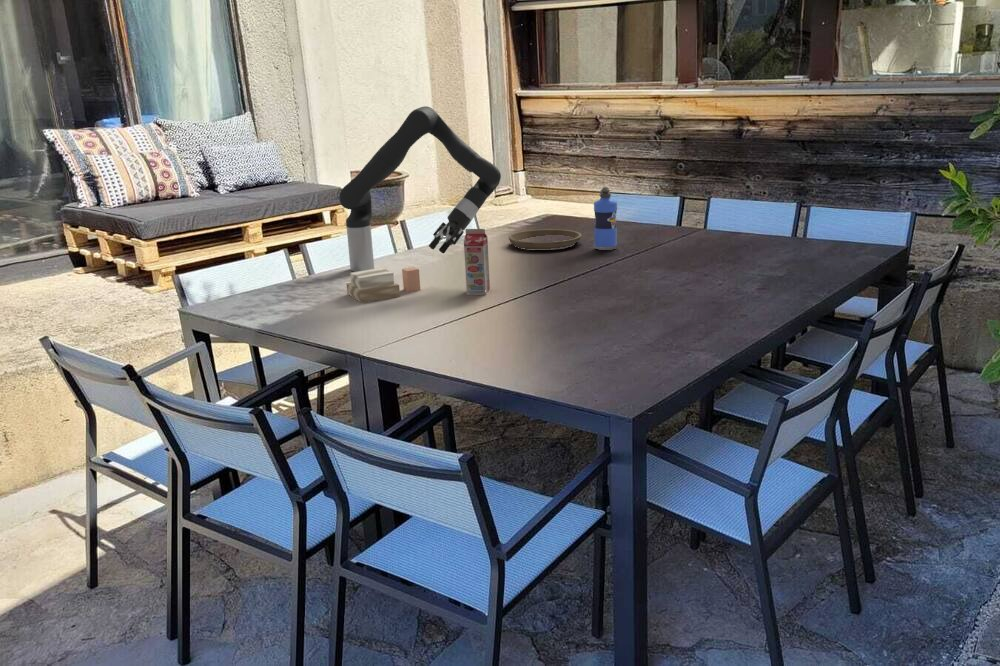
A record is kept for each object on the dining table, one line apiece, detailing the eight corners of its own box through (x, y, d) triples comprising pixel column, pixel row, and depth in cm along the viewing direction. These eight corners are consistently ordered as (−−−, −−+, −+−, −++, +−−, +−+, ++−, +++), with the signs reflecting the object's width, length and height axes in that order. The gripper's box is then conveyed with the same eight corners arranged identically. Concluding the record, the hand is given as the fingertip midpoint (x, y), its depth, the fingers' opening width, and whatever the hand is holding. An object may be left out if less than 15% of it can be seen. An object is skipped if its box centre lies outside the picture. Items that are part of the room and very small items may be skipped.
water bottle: (590, 249, 359) (589, 188, 352) (601, 245, 366) (600, 185, 359) (610, 251, 354) (610, 189, 346) (621, 247, 361) (621, 186, 354)
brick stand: (347, 294, 305) (345, 272, 303) (384, 288, 311) (383, 266, 309) (361, 302, 293) (359, 279, 291) (400, 296, 300) (398, 273, 297)
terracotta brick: (403, 289, 309) (402, 268, 307) (415, 287, 311) (413, 266, 309) (408, 292, 305) (407, 271, 303) (420, 290, 307) (418, 269, 305)
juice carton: (471, 289, 304) (467, 227, 298) (489, 290, 303) (486, 227, 296) (466, 294, 298) (463, 230, 291) (485, 295, 296) (482, 230, 290)
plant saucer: (545, 235, 394) (544, 225, 392) (597, 243, 372) (596, 232, 370) (493, 247, 374) (493, 236, 373) (545, 256, 352) (545, 245, 351)
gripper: (447, 204, 314) (420, 240, 313) (465, 209, 302) (437, 246, 301) (461, 217, 318) (434, 253, 317) (479, 223, 306) (451, 259, 305)
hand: (435, 250), depth 309 cm, fingers open, 8 cm apart
